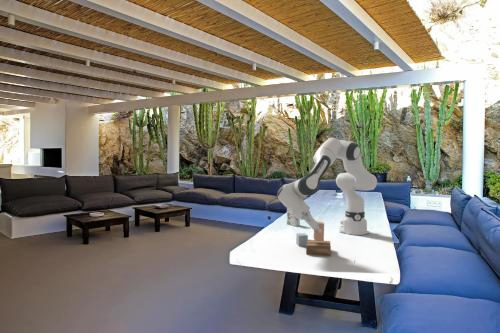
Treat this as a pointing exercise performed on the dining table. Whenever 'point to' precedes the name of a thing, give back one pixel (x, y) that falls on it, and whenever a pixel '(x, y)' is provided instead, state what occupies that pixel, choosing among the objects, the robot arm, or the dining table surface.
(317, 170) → the robot arm
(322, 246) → the walnut block
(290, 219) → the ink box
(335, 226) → the dining table surface
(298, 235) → the slate grey block
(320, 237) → the terracotta block
